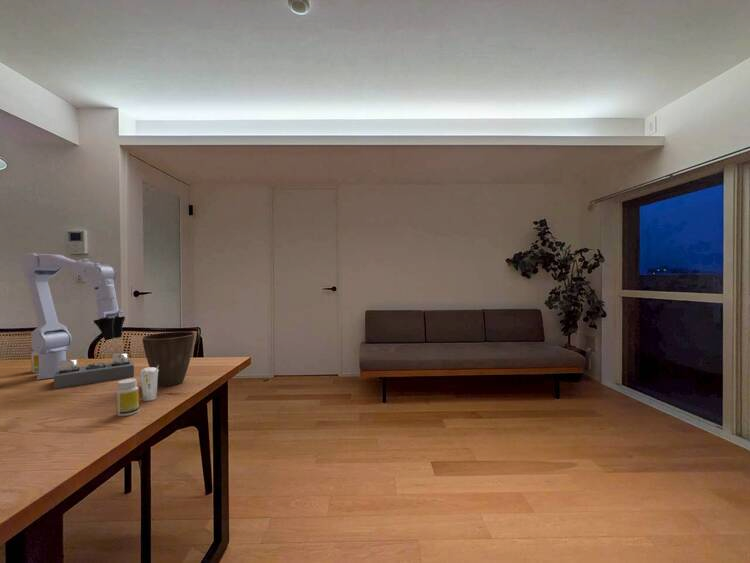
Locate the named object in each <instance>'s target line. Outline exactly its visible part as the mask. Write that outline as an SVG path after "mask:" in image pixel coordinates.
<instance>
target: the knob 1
mask: <svg viewBox="0 0 750 563" xmlns="http://www.w3.org/2000/svg"><path fill="white" fill-rule="evenodd" d="M78 365H79V363H78V359H77V358H70V359H69V358H68V359H67V358H66V360H62V361H60V373H68V372H76V371H78Z"/></svg>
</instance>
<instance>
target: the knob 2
mask: <svg viewBox="0 0 750 563" xmlns="http://www.w3.org/2000/svg"><path fill="white" fill-rule="evenodd" d="M128 360H129V354H128V352H119V353H114V354H112V362H113V366H119V365H126V364H128Z"/></svg>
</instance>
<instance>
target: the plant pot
mask: <svg viewBox="0 0 750 563" xmlns="http://www.w3.org/2000/svg"><path fill="white" fill-rule="evenodd" d="M141 339H142V345H143V349H144V354H145V357H146V361H147V365H148V366H149V367H155V368H157V366H158V365H159V366H158V370H159V371H158V382H157V387H171V386H177V385H179V384H182V383H183V382H184V380H185V379H186V378H185V377H186V376H187V371H188V367H189V364H190V361H191V359H192V358H191V357H192V352H193V347H194V341H195V332H193V331H171V332H160V333H154V334H148V335H144V336H142V337H141Z"/></svg>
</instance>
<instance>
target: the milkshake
mask: <svg viewBox="0 0 750 563" xmlns="http://www.w3.org/2000/svg"><path fill="white" fill-rule="evenodd" d="M158 366H159V365H158ZM158 366H157V368H155V367H145V368H142V369H141V370H140V372H139V377H140V384H141V394H142V401H143V402H151V401H154V400H156V399H157V398H158V395H157V394H158V385H157V382H158V371H159V370H158Z"/></svg>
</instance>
